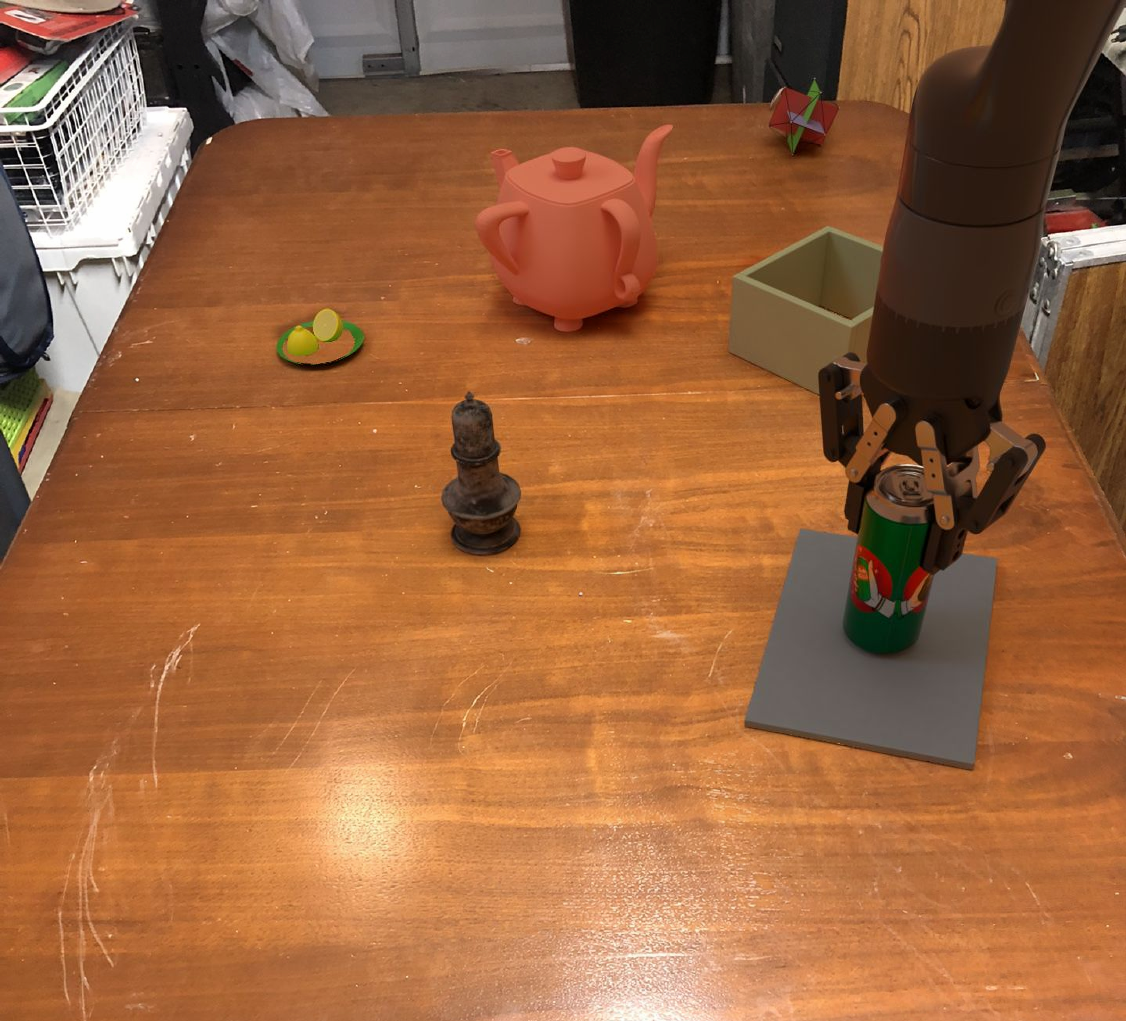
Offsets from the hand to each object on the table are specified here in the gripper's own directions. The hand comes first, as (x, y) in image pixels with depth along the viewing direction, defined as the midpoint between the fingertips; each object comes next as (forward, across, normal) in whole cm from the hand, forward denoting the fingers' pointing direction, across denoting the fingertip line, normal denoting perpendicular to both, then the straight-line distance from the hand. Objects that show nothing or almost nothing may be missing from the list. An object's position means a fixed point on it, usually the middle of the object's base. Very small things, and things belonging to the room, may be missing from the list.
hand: (898, 545), depth 73 cm
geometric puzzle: (+8, +56, -59) cm, 82 cm away
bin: (+8, +26, -27) cm, 38 cm away
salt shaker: (+8, +28, +11) cm, 31 cm away
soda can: (+8, 0, 0) cm, 8 cm away
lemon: (+8, +60, +4) cm, 61 cm away
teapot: (+8, +50, -19) cm, 54 cm away
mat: (+8, 0, 0) cm, 8 cm away
